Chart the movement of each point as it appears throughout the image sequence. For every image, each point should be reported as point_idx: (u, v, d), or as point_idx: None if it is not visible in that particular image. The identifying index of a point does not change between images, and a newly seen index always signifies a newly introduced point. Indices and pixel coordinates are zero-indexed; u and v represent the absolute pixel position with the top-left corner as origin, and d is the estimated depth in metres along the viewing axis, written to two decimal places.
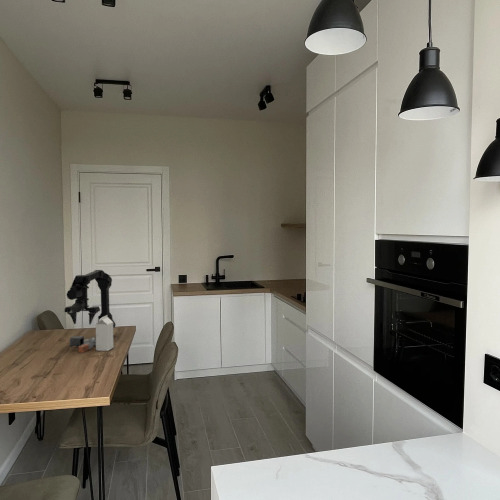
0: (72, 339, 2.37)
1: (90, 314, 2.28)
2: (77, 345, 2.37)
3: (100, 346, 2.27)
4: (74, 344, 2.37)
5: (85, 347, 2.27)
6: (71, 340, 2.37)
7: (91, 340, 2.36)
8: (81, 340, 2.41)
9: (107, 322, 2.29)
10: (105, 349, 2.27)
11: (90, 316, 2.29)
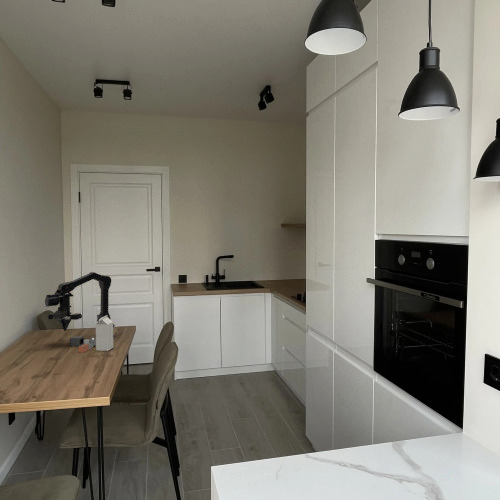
0: (72, 339, 2.37)
1: (65, 321, 2.37)
2: (77, 345, 2.37)
3: (100, 346, 2.27)
4: (74, 344, 2.37)
5: (85, 347, 2.27)
6: (71, 340, 2.37)
7: (91, 340, 2.36)
8: (81, 340, 2.41)
9: (107, 322, 2.29)
10: (105, 349, 2.27)
11: (65, 323, 2.38)
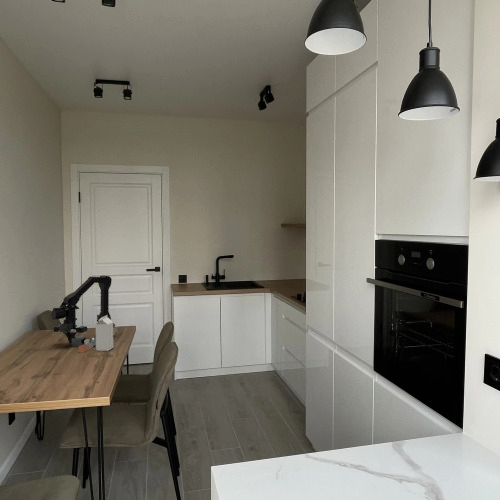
0: (74, 339, 2.37)
1: (71, 334, 2.37)
2: (79, 345, 2.36)
3: (100, 346, 2.27)
4: (76, 344, 2.37)
5: (85, 347, 2.27)
6: (73, 340, 2.37)
7: (91, 340, 2.36)
8: (83, 340, 2.40)
9: (107, 322, 2.29)
10: (105, 349, 2.27)
11: (71, 335, 2.38)
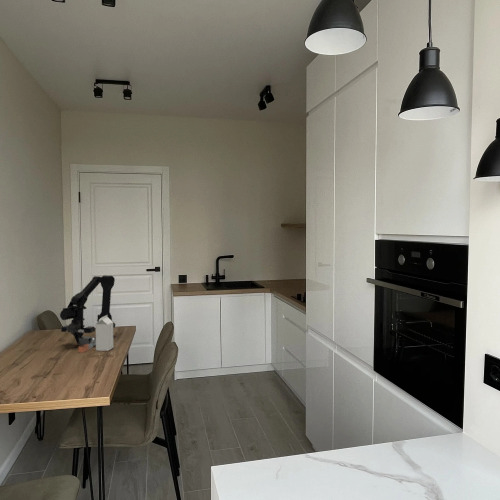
0: (81, 339, 2.36)
1: (78, 334, 2.36)
2: None
3: (100, 346, 2.27)
4: None
5: (85, 347, 2.27)
6: (80, 340, 2.36)
7: (91, 340, 2.36)
8: None
9: (107, 322, 2.29)
10: (105, 349, 2.27)
11: (78, 336, 2.37)
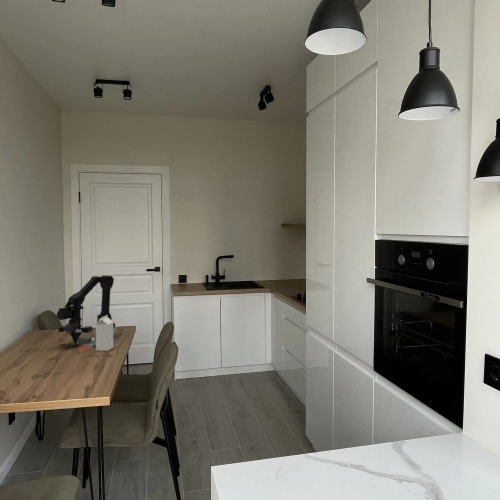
0: (81, 339, 2.36)
1: (76, 334, 2.37)
2: None
3: (100, 346, 2.27)
4: None
5: (85, 347, 2.27)
6: (80, 340, 2.36)
7: (91, 340, 2.36)
8: None
9: (107, 322, 2.29)
10: (105, 349, 2.27)
11: (76, 335, 2.38)
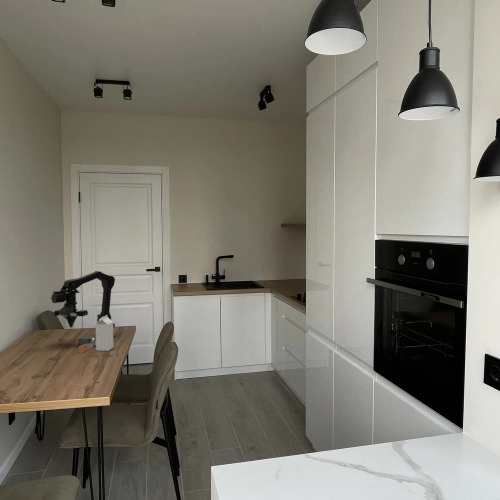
0: (81, 339, 2.36)
1: (71, 317, 2.37)
2: None
3: (100, 346, 2.27)
4: None
5: (85, 347, 2.27)
6: (80, 340, 2.36)
7: (91, 340, 2.36)
8: None
9: (107, 322, 2.29)
10: (105, 349, 2.27)
11: (71, 319, 2.38)
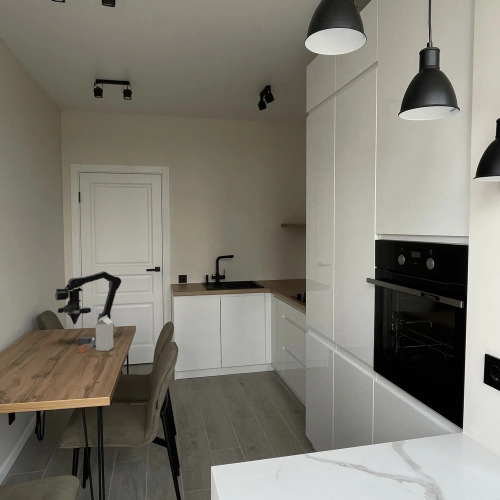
0: (81, 339, 2.36)
1: (75, 314, 2.44)
2: None
3: (100, 346, 2.27)
4: None
5: (85, 347, 2.27)
6: (80, 340, 2.36)
7: (91, 340, 2.36)
8: None
9: (107, 322, 2.29)
10: (105, 349, 2.27)
11: (75, 316, 2.45)
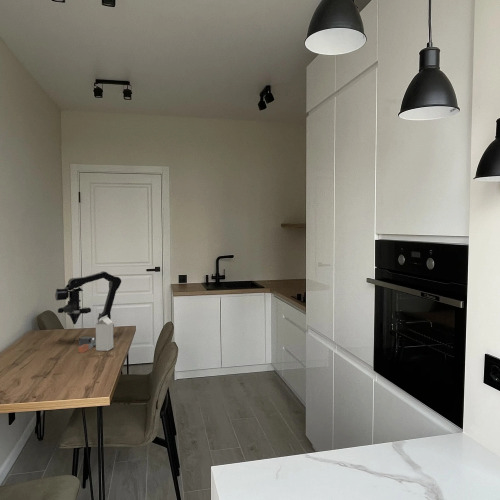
0: (81, 339, 2.36)
1: (75, 314, 2.44)
2: None
3: (100, 346, 2.27)
4: None
5: (85, 347, 2.27)
6: (80, 340, 2.36)
7: (91, 340, 2.36)
8: None
9: (107, 322, 2.29)
10: (105, 349, 2.27)
11: (75, 316, 2.45)
